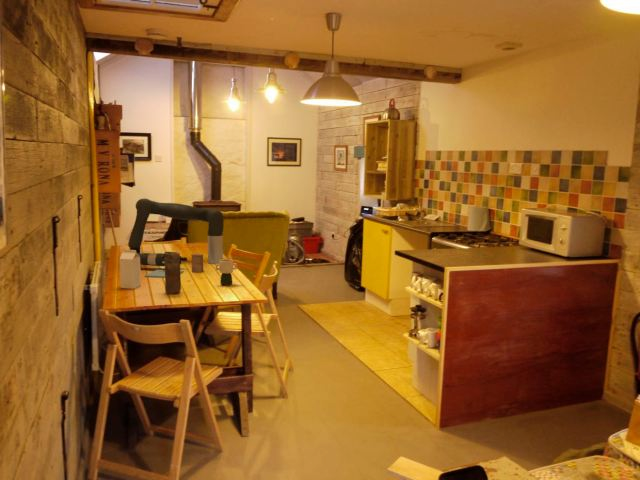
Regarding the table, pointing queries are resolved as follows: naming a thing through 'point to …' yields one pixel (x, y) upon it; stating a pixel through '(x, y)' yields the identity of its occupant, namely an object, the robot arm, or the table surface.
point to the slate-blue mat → (158, 274)
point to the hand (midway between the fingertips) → (184, 260)
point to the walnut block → (197, 263)
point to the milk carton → (130, 269)
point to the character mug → (226, 270)
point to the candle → (172, 272)
